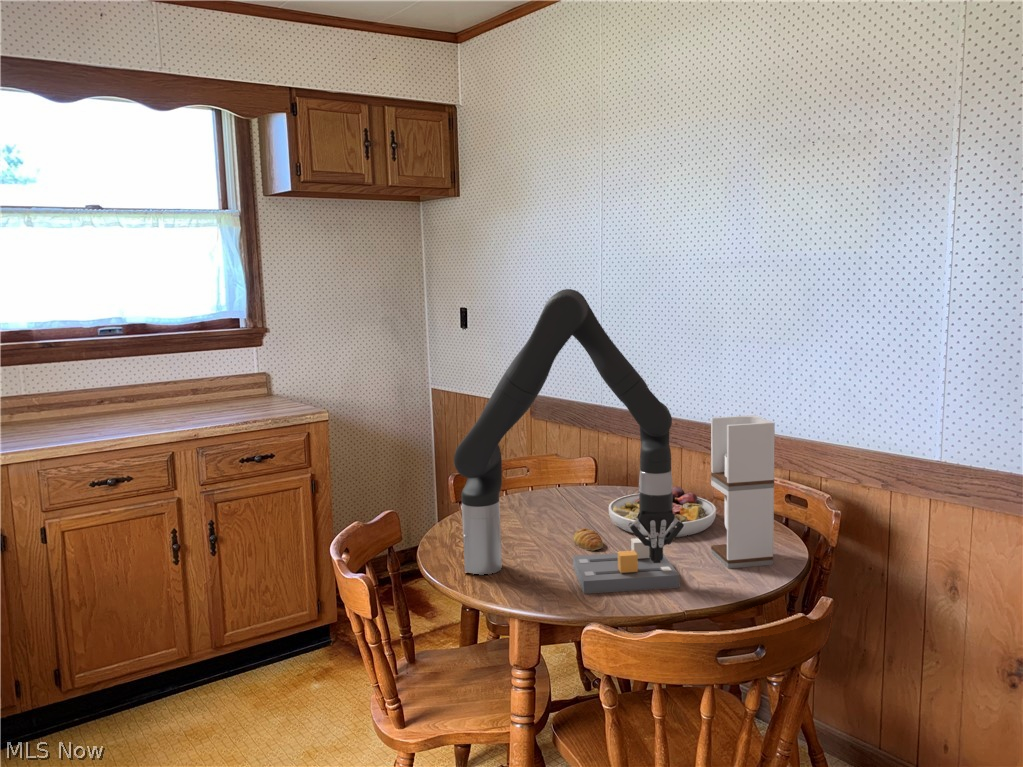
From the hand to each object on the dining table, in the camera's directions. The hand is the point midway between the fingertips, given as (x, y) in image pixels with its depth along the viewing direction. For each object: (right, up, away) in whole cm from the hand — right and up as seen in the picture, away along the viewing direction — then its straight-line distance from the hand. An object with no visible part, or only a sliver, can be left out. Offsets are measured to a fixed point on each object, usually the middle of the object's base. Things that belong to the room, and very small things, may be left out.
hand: (656, 561), depth 183 cm
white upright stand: (+24, -2, +13) cm, 27 cm away
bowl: (+10, +1, +43) cm, 44 cm away
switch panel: (-7, -5, +4) cm, 9 cm away
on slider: (-2, 0, +8) cm, 8 cm away
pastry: (-13, -2, +27) cm, 30 cm away
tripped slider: (-7, -2, 0) cm, 7 cm away
